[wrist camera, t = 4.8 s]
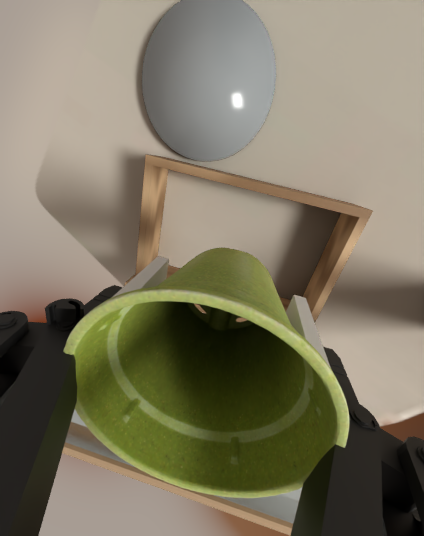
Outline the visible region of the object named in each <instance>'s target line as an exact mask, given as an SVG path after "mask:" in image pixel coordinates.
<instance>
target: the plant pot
mask: <svg viewBox="0 0 424 536" xmlns="http://www.w3.org/2000/svg"><path fill="white" fill-rule="evenodd" d="M194 303H195V304H199V305H200V307H201V308H202V309H203V310H204V311H205V312H206V313H202V312H201V311H199V310H198V308H197V307H196V306H195V304H194ZM241 317H242V318H245V319H247V320H246V321H243V322H237V321H236V319H238V318H241ZM63 352H64V353H66V354H70V355H73V354H74V357H75V360H76V381H77V402H76V406H75V410H76V412H77V414H78V415H79V417H80V418H81V420H82V421H83V422H84V423H85V425H86V426H87V427H88V428H89V430H90V431H91V432H92V433H93V435H94V436H95V437H96V438H97V439H98V440H100V441H101V442H102V443H103V444H104V445H105V446H106V447H107V448H109V449H110V450H111V451H112V452H113V453H114V454H116V455H117V456H119V457H120V458H121V459H123V460H125V461H126V462H128V463H129V464H131V465H133V466H134V467H136V468H138V469H140V470H141V471H144V472H146V473H148V474H150V475H151V476H154V477H156V478H158V479H161V480H163V481H165V482H168V483H170V484H173V485H176V486H179V487H181V488H185V489H189V490H192V491H196V492H200V493H205V494H210V495H217V496H223V497H233V498H259V497H268V496H276V495H278V494H283V493H289V492H292V491H295V490H298V489H300V488H301V487H303V483H304V482H305V480H306V479H307V478H308V476H309V475H310V473H311V472H312V471H313V469H314V468H315V466H316V465H317V463H318V462H319V461H320V459H321V458H322V457H323V456H324V455H325V454H326V453H327V452H328V451H329V450H330V449H331V448H332V447H333V446H334V445H335V444H336V445H339V446H341V447H345V446H346V442H347V438H348V432H349V411H348V406H347V403H346V399H345V396H344V394H343V391H342V389H341V387H340V385H339V383H338V381H337V379H336V377H335V375H334V373H333V371H332V370H331V368H330V367H329V365H328V364H327V363H326V361H325V360H324V359H323V357H322V356H321V355H320V354H319V352H318V351H317V350H316V349H315V348H314V347H313V346H312V345H311V344H310V343H309V342H308V341H307V340H306V339H305V338H304V337H303V336H302V335H300V334H299V333H298V332H297V331H296V330H295V329H294V327H293V326H292V325H291V323H290V321H289V319H288V316H287V314H286V312H285V310H284V307H283V305H282V303H281V300H280V298H279V296H278V293H277V291H276V288H275V286H274V283H273V281H272V278H271V276H270V274H269V272H268V271H267V269H266V268H265V267H264V265H263V264H262V263H261V262H260V261H259V260H258V259H256V258H255V257H254V256H252V255H250V254H248V253H245V252H242V251H238V250H234V249H229V248H215V249H211V250H208V251H205V252H203V253H201V254H199V255H198V256H196V257H195V258H194V259H192V260H191V261H189V262H188V263H187V264H186V265H184V266H183V267H182V268H181V269H179V270H178V271H177V272H175V273H174V274H172V275H171V276H170V277H168V278H167V279H166V280H164V281H163V282H161V283H160V284H159V285H157V286H155V287H149V288H141V289H137V290H133V291H129V292H125V293H122V294H120V295H117V296H115V297H112V298H110V299H108V300H106V301H105V302H103V303H101V304H100V305H98V306H97V307H95V308H94V309H93V310H91V311H90V312H89V313H88V314H86V315H85V316H84V317H83V318H82V319H81V320H80V321H79V322H78V323H77V325H76V326H75V327H74V329H73V330H72V331H71V333H70V335H69V337H68V339H67V342H66V345H65V348H64V351H63Z"/></svg>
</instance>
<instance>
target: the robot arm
mask: <svg viewBox="0 0 424 536" xmlns="http://www.w3.org/2000/svg"><path fill="white" fill-rule="evenodd" d="M168 263H169V259H167V258H163V257H160V256H158V257H156V258H155V259H154V260H153V261H152V262H151V263H150V264H149V265H148V266H146V267H145V268H144V269H143V270H142V271H141V272H140V273H139V274H137V275H136V276H135V277H134V278H133V279H132V280H131V281H130V282H128V283H127V284H126V285H125V286H124V287H123V288H122V287H119V286H115V285H114V286H111V287H108V288H106V289H104V290H103V291H102V292H100V293H99V295H97V296H95V297H94V298H93V300H91V301H89V302H88V303H87V304H85V305H83V303H82V302H81V301H79V300H76V299H61V300H57V301H54V302H52V303H50V304H49V305H48V306H47V307H46V308H45V311H46V319H47V323H39V322H38V323H37V322H28V318H27V316H26V315H25V314H24V313H22V312H18V311H8V312H2V313H0V536H38V534H39V531H40V528H41V524H42V521H43V517H44V514H45V510H46V507H47V503H48V500H49V497H50V493H51V489H52V486H53V483H54V479H55V476H56V472H57V468H58V465H59V461H60V458H61V454H62V451H63V448H64V444H65V441H66V437H67V434H68V430H69V427H70V423H71V420H72V416H73V413H74V409H75V406H76V402H77V381H76V360H75V357H74V354H73V355H70V354H66V353H64V352H63V351H64V348H65V345H66V342H67V339H68V337H69V335H70V333H71V331H72V330H73V329H74V327H75V326H76V325H77V323H78V322H79V321H80V320H81V319H82V318H83V317H84V316H85V315H86V314H88V313H89V312H90V311H91V310H93V309H94V308H95V307H97V306H98V305H100V304H101V303H103V302H105V301H106V300H108V299H110V298H112V297H115V296H117V295H120V294H122V293H125V292H129V291H133V290H137V289H141V288H149V287H155V286H157V285H159V284H160V283H161V282H163V281H164V280H166V277H167V270H168ZM286 314H287V316H288V319H289V321H290V323H291V325H292V326H293V327H294V329H295V330H296V331H297V332H298V333H299V334H300V335H302V336H303V337H304V338H305V339H306V340H307V341H308V342H309V343H310V344H311V345H312V346H313V347H314V348H315V349H316V350H317V351H318V352H319V354H320V355H321V356H322V357H323V359H324V360H325V361H326V363H327V364H328V365H329V367H330V368H331V370H332V371H333V373H334V375H335V377H336V379H337V381H338V383H339V385H340V387H341V389H342V391H343V394H344V396H345V399H346V403H347V406H348V411H349V432H348V438H347V442H346V446H345V447H341V446H339V445H336V444H335V445H334V446H333V447H332V448H331V449H330V450H329V451H328V452H327V453H326V454H325V455H324V456H323V457H322V458H321V459H320V461H319V462H318V463H317V465H316V466H315V468H314V469H313V471H312V472H311V473H310V475H309V476H308V478H307V479H306V480H305V482H304V483H303V487H302V491H301V495H300V499H299V503H298V507H297V511H296V515H295V519H294V523H293V527H292V531H291V535H290V536H424V440H422V439H420V438H416V437H408V438H407V439H406V440H405V441H404V442H402V441H401V440H399V439H397V438H396V437H394V436H392V435H391V434H389V433H387V432H386V431H384V430H382V429H381V428H380V427H379V424H378V422H377V421H376V419H375V417H374V416H373V415H372V414H371V413H370V412H369V411H368V410H367V409H366V408H364V407H363V406H362V405H360V404H359V402H358V400H357V397H356V395H355V393H354V390H353V388H352V386H351V383H350V381H349V378H348V377H347V374H346V371H345V369H344V367H343V364H342V362H341V359H340V358H339V357H338V355H337V354H336V353H335V352H334V351H333V350H332V349H329V348H325V347H323V345H322V342H321V339H320V336H319V334H318V331H317V328H316V325H315V322H314V320H313V317H312V314H311V311H310V308H309V306H308V303H307V300H306V298H304V297H301V296H297V295H293V297H292V300H291V302H290V304H289V306H288V309H287V311H286ZM417 511H418V512H417ZM418 514H419V515H418Z"/></svg>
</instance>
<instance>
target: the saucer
mask: <svg viewBox="0 0 424 536" xmlns="http://www.w3.org/2000/svg"><path fill="white" fill-rule="evenodd" d="M275 81H276V63H275V55H274V50H273V46H272V42H271V39H270V37H269V34H268V31H267V30H266V28H265V26H264V24H263V22H262V21H261V19H260V18H259V16H258V15H257V13H256V12H255V11H254V10H253V9H252V8H251V7H250V6H249V5H248V4H246V3H245V2H244V1H242V0H181V1H180V2H178V3H177V4H175V5H174V6H173V7H172V8H171V9H170V10H169V11H168V12H167V13H166V14H165V15H164V16H163V18H162V19H161V20H160V21H159V23H158V25H157V26H156V28H155V30H154V32H153V34H152V36H151V38H150V40H149V43H148V46H147V49H146V53H145V57H144V61H143V70H142V89H143V97H144V103H145V106H146V110H147V113H148V116H149V118H150V121H151V123H152V125H153V127H154V128H155V130H156V132H157V133H158V135H159V136H160V137H161V139H162V140H163V141H164V142H165V143H166V144H167V145H168V146H169V147H170V148H172V149H173V150H174V151H176V152H177V153H179V154H181V155H183V156H185V157H187V158H190V159H193V160H199V161H217V160H221V159H225V158H228V157H230V156H232V155H234V154H236V153H237V152H239V151H241V150H242V149H243V148H244V147H245V146H247V145H248V144H249V143H250V142H251V141H252V140H253V139H254V137H255V136H256V135H257V133H258V132H259V130H260V129H261V127H262V125H263V124H264V122H265V120H266V117H267V115H268V113H269V110H270V107H271V104H272V99H273V95H274V90H275Z"/></svg>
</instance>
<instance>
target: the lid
mask: <svg viewBox="0 0 424 536" xmlns="http://www.w3.org/2000/svg"><path fill="white" fill-rule="evenodd" d="M62 453H64V454H67V455H70V456H72V457H75V458H78V459H81V460H83V461H86V462H89V463H92V464H94V465H97V466H100V467H103V468H105V469H108V470H111V471H114V472H116V473H119V474H122V475H125V476H127V477H130V478H133V479H136V480H139V481H141V482H144V483H147V484H150V485H152V486H155V487H158V488H161V489H163V490H166V491H169V492H172V493H174V494H177V495H180V496H183V497H185V498H188V499H191V500H194V501H197V502H199V503H202V504H205V505H208V506H210V507H213V508H216V509H219V510H221V511H224V512H227V513H230V514H232V515H235V516H238V517H241V518H244V519H246V520H249V521H252V522H255V523H258V524H260V525H263V526H266V527H268V528H271V529H274V530H277V531H279V532H282V533H285V534H288V535H291V531H292V527H293V523H294V519H295V515H296V511H297V507H298V503H299V499H300V495H301V491H302V487H301V488H300V489H298V490H295V491H292V492H289V493H283V494H278V495H276V496H268V497H259V498H233V497H223V496H217V495H210V494H205V493H200V492H196V491H192V490H189V489H185V488H181V487H179V486H176V485H173V484H170V483H168V482H165V481H163V480H161V479H158V478H156V477H154V476H151V475H150V474H148V473H146V472H144V471H141V470H140V469H138V468H136V467H134V466H133V465H131V464H129V463H128V462H126V461H125V460H123V459H121V458H120V457H119V456H117V455H116V454H114V453H113V452H112V451H111V450H110V449H109V448H107V447H106V446H105V445H104V444H103V443H102V442H101V441H100V440H98V439H97V438H96V437H95V436H94V435H93V433H92V432H91V431H90V430H89V428H88V427H87V426H86V425H85V423H84V422H83V421H82V420H81V418H80V417H79V415H78V414H77V412H76V410H75V409H74V413H73V416H72V420H71V423H70V427H69V430H68V434H67V437H66V441H65V444H64V448H63V451H62Z"/></svg>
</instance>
